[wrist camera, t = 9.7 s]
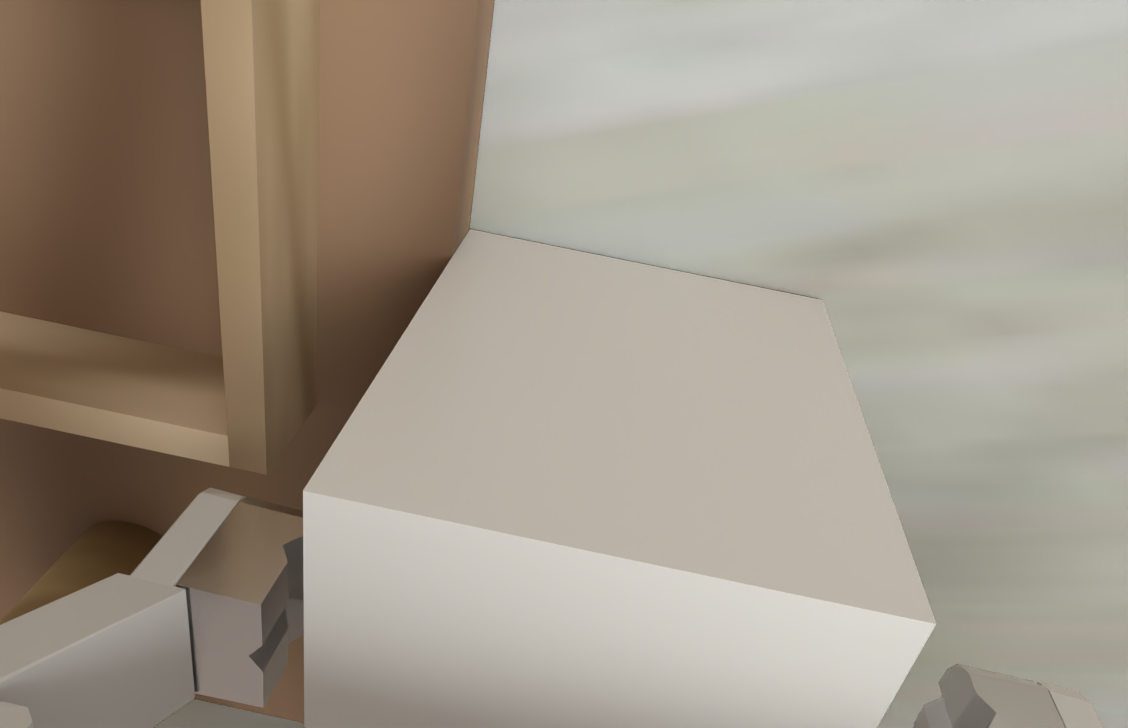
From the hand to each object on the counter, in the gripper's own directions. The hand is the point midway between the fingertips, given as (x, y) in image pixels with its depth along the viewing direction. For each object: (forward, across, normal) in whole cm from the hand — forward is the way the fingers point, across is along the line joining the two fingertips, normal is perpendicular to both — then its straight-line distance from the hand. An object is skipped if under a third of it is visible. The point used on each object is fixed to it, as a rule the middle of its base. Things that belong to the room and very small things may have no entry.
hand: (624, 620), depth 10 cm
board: (+5, +10, +1) cm, 11 cm away
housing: (+5, +1, 0) cm, 5 cm away
